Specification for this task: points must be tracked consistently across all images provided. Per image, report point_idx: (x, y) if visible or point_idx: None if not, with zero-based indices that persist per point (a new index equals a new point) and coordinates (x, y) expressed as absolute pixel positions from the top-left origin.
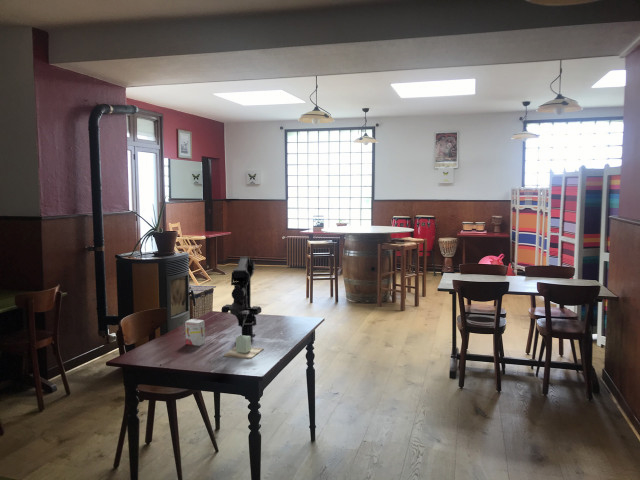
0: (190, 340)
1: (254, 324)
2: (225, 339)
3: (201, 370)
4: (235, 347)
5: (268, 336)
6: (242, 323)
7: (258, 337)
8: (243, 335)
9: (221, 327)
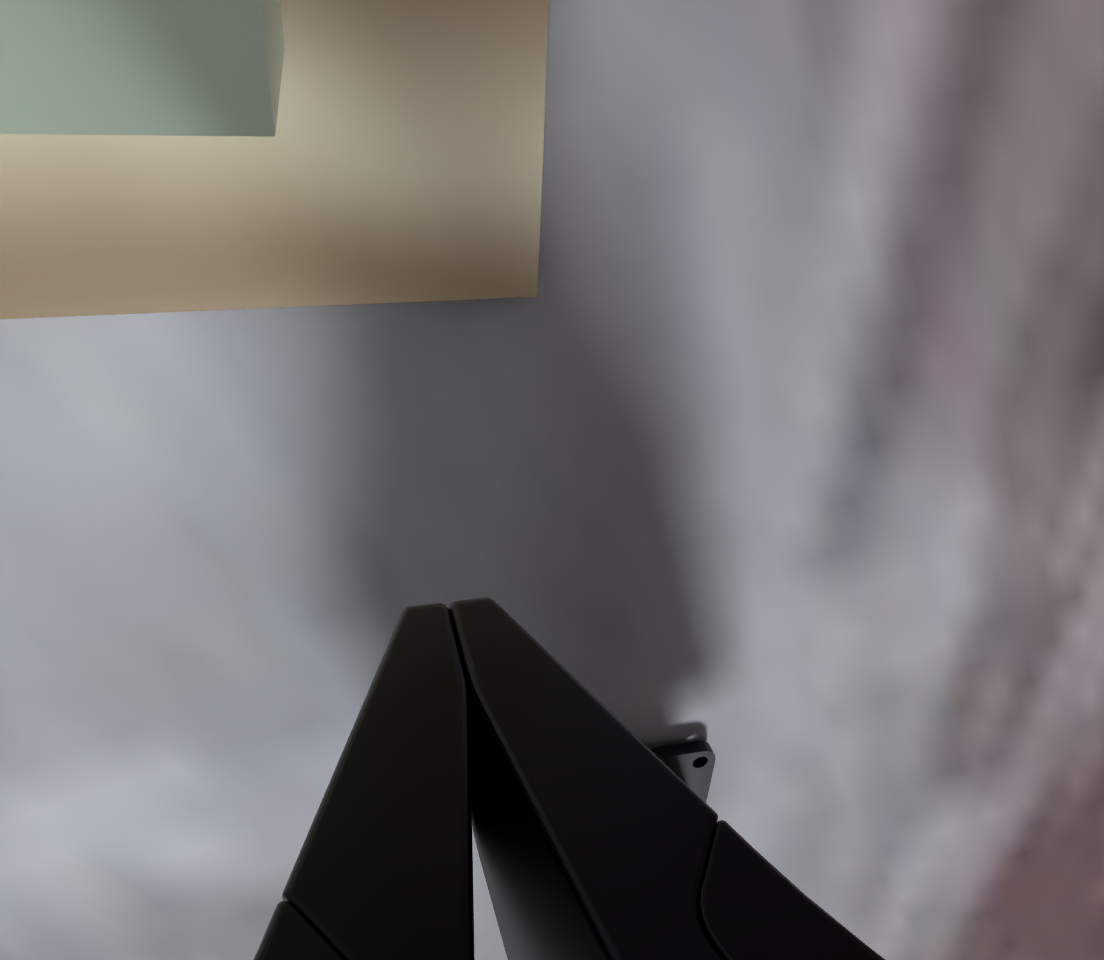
0: None
1: None
2: (903, 607)
3: None
4: (529, 183)
5: None
6: (371, 741)
7: None
8: (110, 133)
9: (1039, 910)
